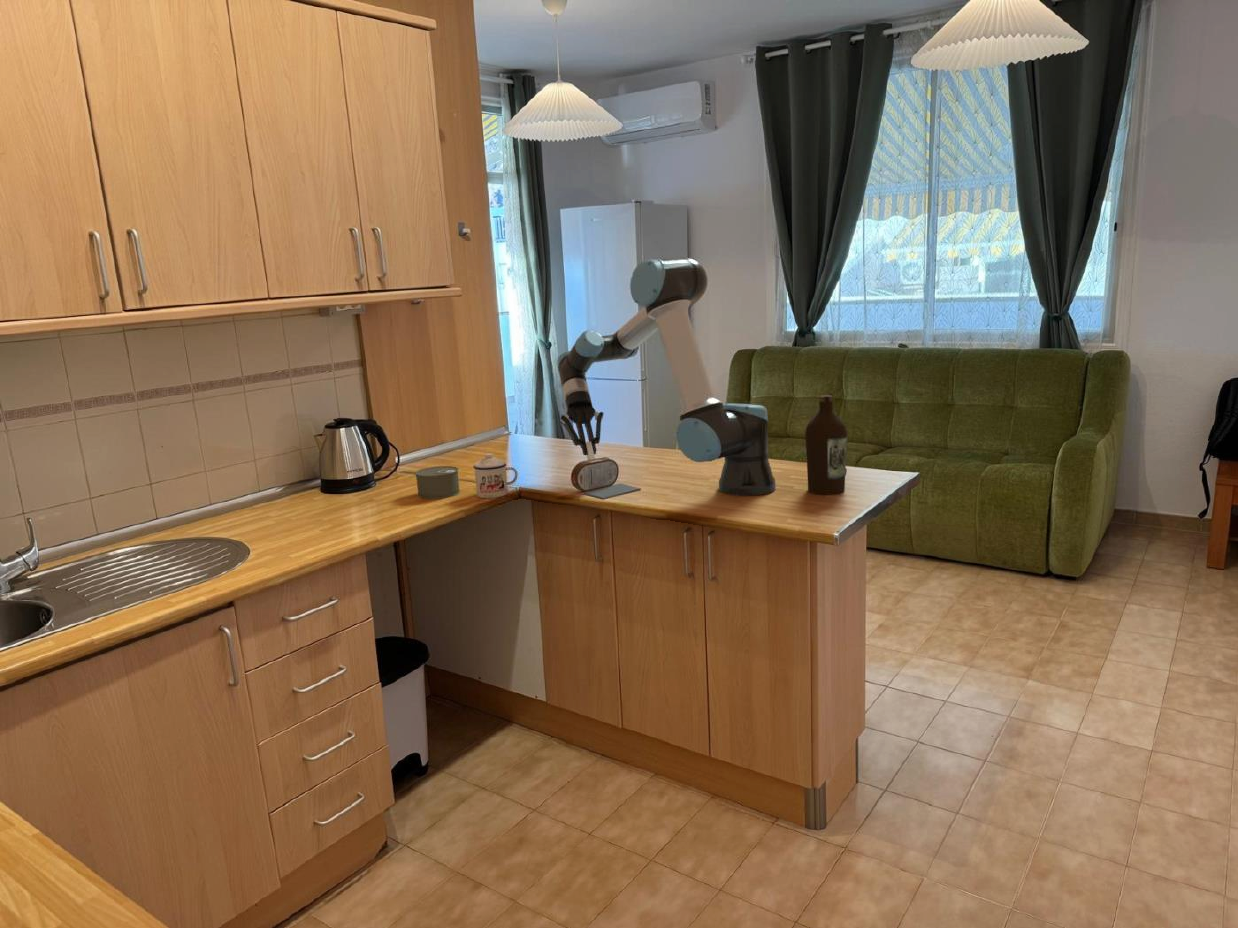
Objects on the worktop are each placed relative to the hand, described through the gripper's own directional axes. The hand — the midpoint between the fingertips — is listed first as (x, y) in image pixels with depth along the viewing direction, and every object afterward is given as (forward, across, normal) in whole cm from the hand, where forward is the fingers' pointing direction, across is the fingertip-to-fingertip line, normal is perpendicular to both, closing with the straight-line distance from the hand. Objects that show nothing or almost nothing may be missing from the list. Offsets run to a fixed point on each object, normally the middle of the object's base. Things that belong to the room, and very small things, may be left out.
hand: (592, 463), depth 246 cm
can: (-3, +43, -13) cm, 45 cm away
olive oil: (+28, -56, +18) cm, 65 cm away
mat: (+11, -3, +1) cm, 12 cm away
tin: (+7, 0, -3) cm, 8 cm away
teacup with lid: (+3, +27, -7) cm, 28 cm away
